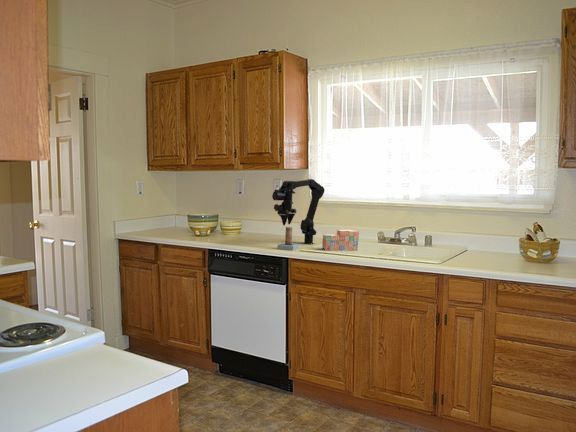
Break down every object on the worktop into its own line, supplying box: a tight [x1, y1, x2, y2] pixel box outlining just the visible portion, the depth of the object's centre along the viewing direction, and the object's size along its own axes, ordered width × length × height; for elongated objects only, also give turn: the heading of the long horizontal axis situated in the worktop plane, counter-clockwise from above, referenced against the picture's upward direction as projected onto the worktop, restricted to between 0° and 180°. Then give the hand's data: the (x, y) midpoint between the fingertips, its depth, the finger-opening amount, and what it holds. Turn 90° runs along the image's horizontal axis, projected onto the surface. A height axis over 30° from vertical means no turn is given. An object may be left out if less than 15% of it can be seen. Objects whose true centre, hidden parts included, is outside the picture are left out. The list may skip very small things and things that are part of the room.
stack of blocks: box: [321, 229, 360, 252], centre depth 322 cm, size 21×6×12 cm, turn 103°
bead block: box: [277, 242, 300, 251], centre depth 317 cm, size 10×10×2 cm
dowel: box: [284, 226, 293, 245], centre depth 317 cm, size 4×4×13 cm
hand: (286, 224), depth 332 cm, fingers open, 9 cm apart
